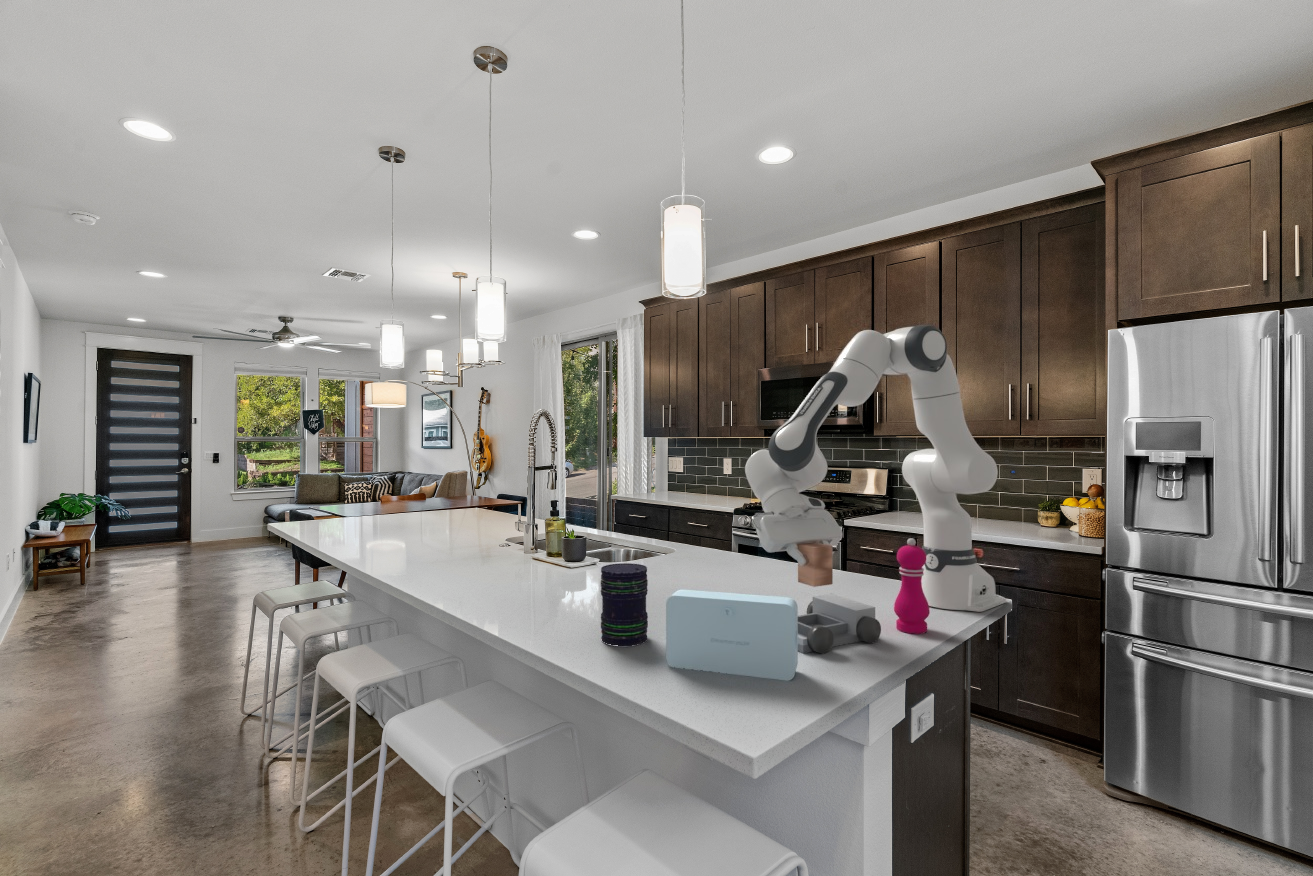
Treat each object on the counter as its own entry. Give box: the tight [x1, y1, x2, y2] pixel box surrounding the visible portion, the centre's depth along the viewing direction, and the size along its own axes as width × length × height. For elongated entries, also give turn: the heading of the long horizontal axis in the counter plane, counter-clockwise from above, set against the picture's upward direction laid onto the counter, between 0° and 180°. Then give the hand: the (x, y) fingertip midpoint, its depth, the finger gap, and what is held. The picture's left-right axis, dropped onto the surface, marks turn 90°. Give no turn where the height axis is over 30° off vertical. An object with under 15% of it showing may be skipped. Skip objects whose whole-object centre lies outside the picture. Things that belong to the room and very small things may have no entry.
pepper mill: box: [893, 537, 930, 635], centre depth 139 cm, size 7×7×20 cm
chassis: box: [798, 593, 882, 655], centre depth 134 cm, size 20×17×6 cm
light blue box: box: [665, 589, 799, 682], centre depth 115 cm, size 23×6×13 cm, turn 72°
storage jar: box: [600, 562, 649, 647], centre depth 133 cm, size 10×10×15 cm
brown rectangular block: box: [797, 543, 834, 588], centre depth 134 cm, size 5×5×8 cm
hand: (817, 562), depth 133 cm, fingers closed on brown rectangular block, 5 cm apart
